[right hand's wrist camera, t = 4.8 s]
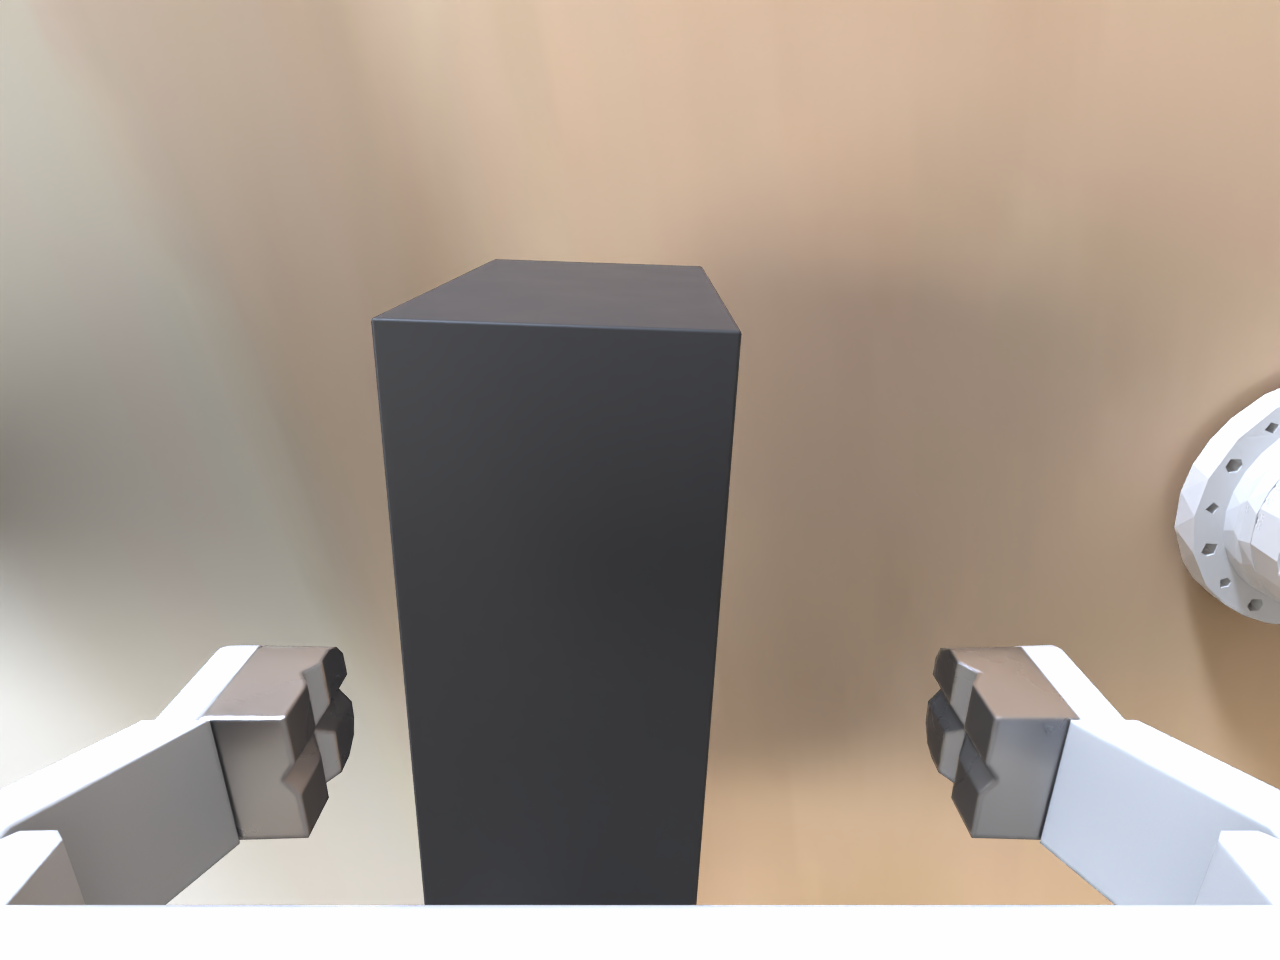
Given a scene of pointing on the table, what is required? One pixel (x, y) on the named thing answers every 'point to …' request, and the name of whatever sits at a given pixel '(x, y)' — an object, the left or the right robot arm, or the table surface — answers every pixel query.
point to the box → (559, 573)
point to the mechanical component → (1237, 513)
